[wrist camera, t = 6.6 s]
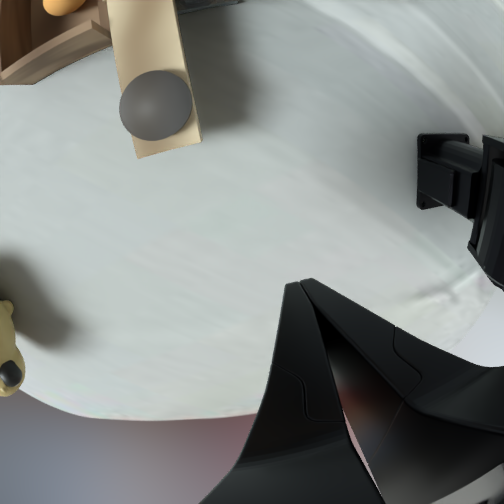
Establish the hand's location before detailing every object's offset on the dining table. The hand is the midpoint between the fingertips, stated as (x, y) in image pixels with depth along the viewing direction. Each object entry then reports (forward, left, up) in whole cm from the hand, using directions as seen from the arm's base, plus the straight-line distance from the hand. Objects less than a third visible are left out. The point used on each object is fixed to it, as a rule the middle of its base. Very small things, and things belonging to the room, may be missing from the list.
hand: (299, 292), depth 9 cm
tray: (+10, -17, -12) cm, 23 cm away
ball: (+9, -17, -10) cm, 22 cm away
